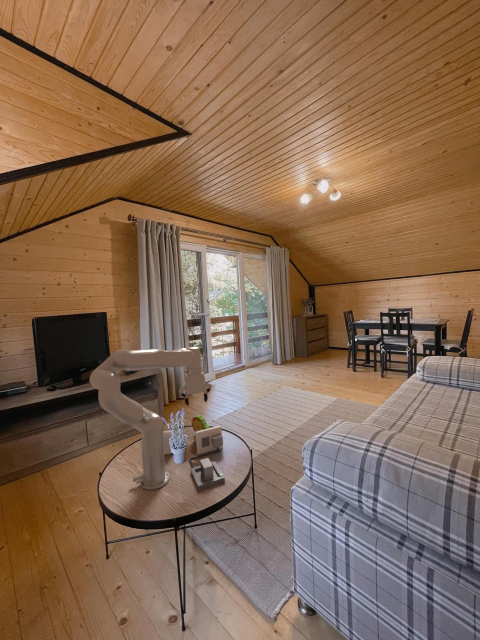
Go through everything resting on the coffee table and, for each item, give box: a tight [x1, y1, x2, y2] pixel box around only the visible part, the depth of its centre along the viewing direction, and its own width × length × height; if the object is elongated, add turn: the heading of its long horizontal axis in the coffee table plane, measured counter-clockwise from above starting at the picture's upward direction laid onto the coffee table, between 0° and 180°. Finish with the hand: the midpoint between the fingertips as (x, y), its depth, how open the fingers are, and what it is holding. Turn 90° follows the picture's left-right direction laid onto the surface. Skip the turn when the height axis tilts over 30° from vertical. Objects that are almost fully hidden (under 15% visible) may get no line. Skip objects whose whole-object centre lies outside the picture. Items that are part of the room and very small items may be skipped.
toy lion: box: [191, 414, 211, 443], centre depth 155 cm, size 16×5×15 cm, turn 50°
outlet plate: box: [195, 425, 224, 456], centre depth 144 cm, size 14×6×12 cm, turn 114°
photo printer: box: [163, 430, 172, 456], centre depth 146 cm, size 10×4×12 cm, turn 98°
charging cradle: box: [190, 461, 226, 491], centre depth 124 cm, size 12×14×2 cm
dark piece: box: [188, 447, 220, 468], centre depth 137 cm, size 16×11×4 cm
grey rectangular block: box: [199, 457, 214, 481], centre depth 124 cm, size 4×7×6 cm, turn 24°
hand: (196, 403), depth 140 cm, fingers open, 9 cm apart
